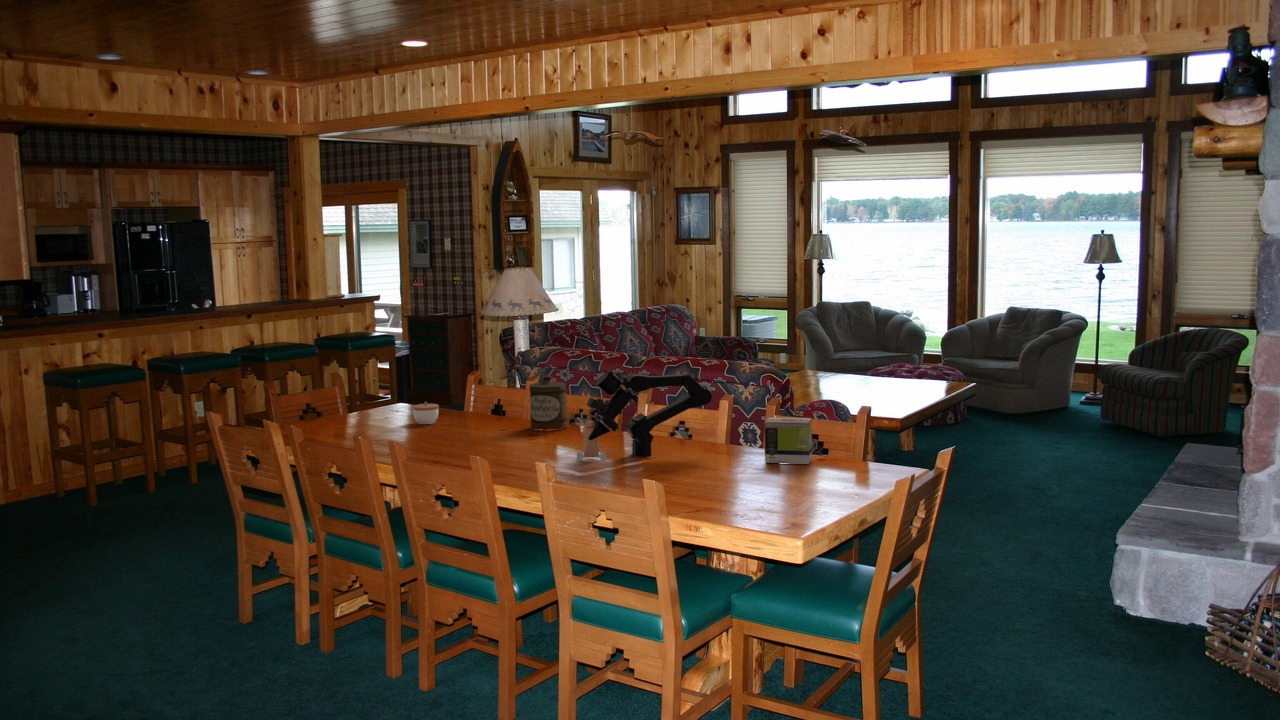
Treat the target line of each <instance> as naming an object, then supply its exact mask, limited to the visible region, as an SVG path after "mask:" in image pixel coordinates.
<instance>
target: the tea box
mask: <svg viewBox="0 0 1280 720" xmlns="http://www.w3.org/2000/svg"><path fill="white" fill-rule="evenodd" d="M812 422H813V421H812V418H811V417H772V416H771V417H768V418H767V419H766V420H765V421H764V458H765V459H764V464H765V463H790V464H809V463H810V464H811V462H810V460H811V457H812V458H813V430H812V429H813V428H812V427H813V426H812V425H813V423H812ZM811 461H812V460H811ZM810 464H809V465H810Z"/></svg>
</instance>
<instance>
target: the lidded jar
mask: <svg viewBox="0 0 1280 720" xmlns="http://www.w3.org/2000/svg"><path fill="white" fill-rule="evenodd" d="M439 408H440V406H439V404H438V403H428V401H424V402H423V403H419V404H415V405H413V406H412V411H413V412H412V413H413V418H414V420H415V421H416V422H417V423H418V424H431V425H433V423H434V424H435V422H436V421H437V420H438V417H439V410H440V409H439Z"/></svg>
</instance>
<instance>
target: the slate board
mask: <svg viewBox="0 0 1280 720" xmlns="http://www.w3.org/2000/svg"><path fill="white" fill-rule="evenodd" d="M606 459H607V458H606V451H599V456H598V457H585V456H584V451H577V452H576V463H590V462H593V463H595V462H598V463H599V462H607V460H606Z"/></svg>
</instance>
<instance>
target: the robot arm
mask: <svg viewBox="0 0 1280 720" xmlns="http://www.w3.org/2000/svg"><path fill="white" fill-rule="evenodd" d="M595 385H596V386H597V387H598V389H600V390H601V391H602V392H603V393H604V394H606V395H607V396H610V395H611V396H612V397H610V398H609V399H606V400H605V401H604V399H602V398H600V397H598V398H593V397H592V396H589V398H588V400H587V402H586V406H588V408H590V409H589V411H588V413H589V418H590V420H589V421H595V426H596V427H595V428H594V430H593V431H592V433H591V434H590V436H589V438H588V439H589V440H593V439H595V438H597V437H598V438H599V437H600V436H603V435H606V434H608V433H610V432H611V433H612V432H614V433H616V431H617V430H618V429H619V424H618V422H617V421H615V419H616V418H617V417H618V416H619V415H622V414H623V411H624V409H625V408H626V406H627V405H628V404H629V403H630V402H631V401H632V402H634V403H638V394H637V393H640V392H644V391H648V390H651V389H653V388H665V387H667V388H668V387H682V386H683V388H685V390H686V392H687V393H686V394H685V395H684V396H683V397H682V398H679V400H676V401H674V402H672V403H670V404H668V405H666V406H664V407H662V408H660V409H658V410H656V411H655V412H653V413H651V414H647V415H645V414H643V413H641V412H640V413H638V414H637V415H635V416H632V417H630V419H629V420H628V421H627V422H626V425H625V429H626V433H628V434H629V436H630V437H631V439H632V444H631V446H632V447H631V448H632V451H631V452H632V455H633V456H634V457H638V458H639V457H641V458H647V457H651V456H652V442H653V440H654V435H652V433H650V432H651V431H653V429H654V428H655V427H656V426H658V425H660V424H662V423H664V422H666V421H668V420H670V419H672V418H673V417H676V416H677V415H680V414H681V413H683V412H686V411H688V410H689V409H690V410H691V409H695V408H700V407H703V406H707V405H708V404H710V403H711V402H712V399H713V395H712V392H711V390H710V389H708V388H705V387H703V386H702V385H701V384H700V383H698V382H697V381H696V380H695V379H694V378H693V377H692V376H691V375H690V374H687V373H680V374H664V375H648V374H647V375H646V374H639V373H630V374H628V375H627V376H626V377H623V378H618V377H617V376H616V375H615V374H614V373H613V372H612V371H611V370H607V371H606V372H605V373H603V374H602V375H600V376H599V377H598V378H597V379H596V382H595ZM623 387H624V388H626V389H624V388H623ZM630 390H631V391H633V392H635V393H632V392H631V391H630Z"/></svg>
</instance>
